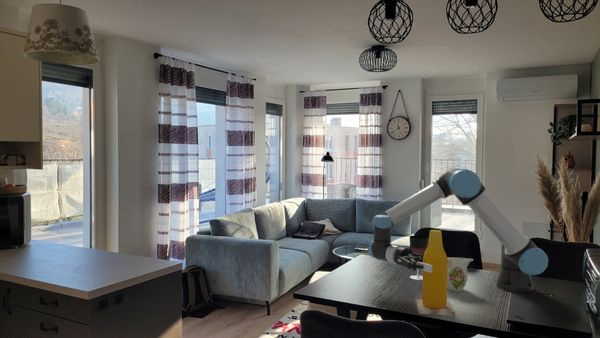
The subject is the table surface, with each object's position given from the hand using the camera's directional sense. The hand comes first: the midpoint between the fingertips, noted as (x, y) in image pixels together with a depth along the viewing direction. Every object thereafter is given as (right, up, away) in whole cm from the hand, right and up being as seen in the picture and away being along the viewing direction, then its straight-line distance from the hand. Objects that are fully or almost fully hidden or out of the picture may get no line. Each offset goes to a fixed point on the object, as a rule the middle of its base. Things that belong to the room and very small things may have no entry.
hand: (442, 266), depth 164 cm
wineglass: (+3, -16, +47) cm, 50 cm away
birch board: (-2, -17, +3) cm, 18 cm away
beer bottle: (-2, -16, +3) cm, 16 cm away
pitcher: (+14, -17, +29) cm, 36 cm away
